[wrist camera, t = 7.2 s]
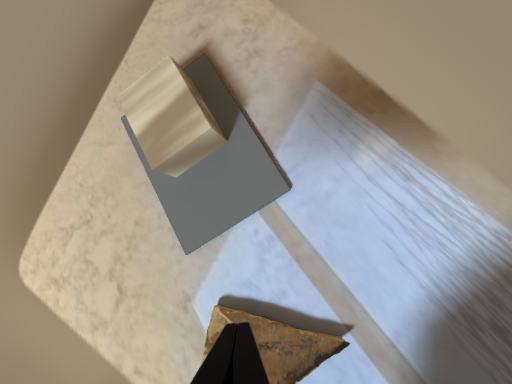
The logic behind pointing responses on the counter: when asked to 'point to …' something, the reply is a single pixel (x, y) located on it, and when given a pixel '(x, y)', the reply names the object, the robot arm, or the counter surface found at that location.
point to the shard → (279, 344)
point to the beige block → (170, 119)
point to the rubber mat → (216, 170)
